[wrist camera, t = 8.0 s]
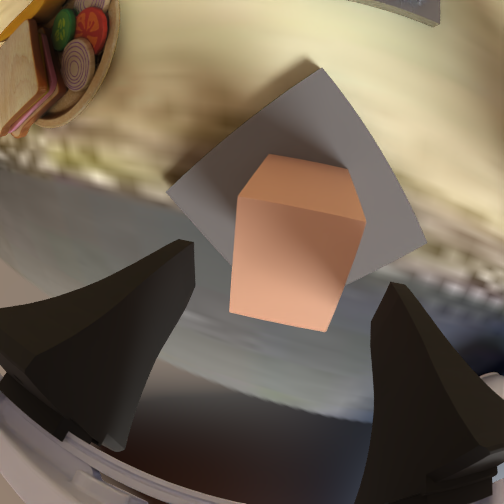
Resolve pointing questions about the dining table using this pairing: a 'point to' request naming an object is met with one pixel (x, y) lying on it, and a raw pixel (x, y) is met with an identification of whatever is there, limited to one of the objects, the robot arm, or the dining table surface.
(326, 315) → the block
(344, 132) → the mat
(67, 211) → the dining table surface
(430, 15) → the vise
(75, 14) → the toy sandwich meal
